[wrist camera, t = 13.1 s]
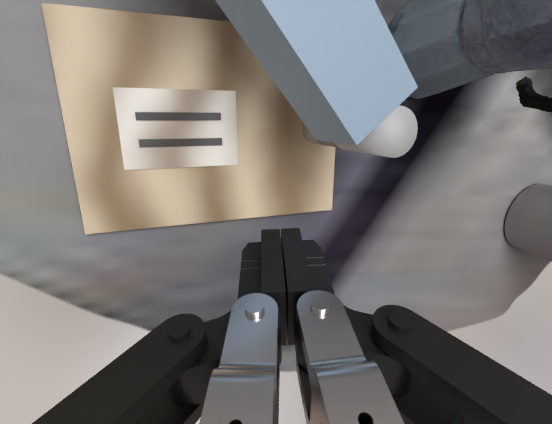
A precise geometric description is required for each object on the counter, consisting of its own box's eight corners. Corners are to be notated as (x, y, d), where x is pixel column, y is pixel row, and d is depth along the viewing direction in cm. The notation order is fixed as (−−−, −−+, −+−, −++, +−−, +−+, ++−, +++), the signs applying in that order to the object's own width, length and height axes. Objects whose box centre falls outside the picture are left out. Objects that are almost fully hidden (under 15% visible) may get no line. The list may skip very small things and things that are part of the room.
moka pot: (433, -58, 28) (935, -397, 10) (477, 96, 34) (832, 67, 16) (352, 0, 27) (735, -255, 9) (413, 146, 33) (710, 178, 15)
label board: (336, 34, 27) (378, 13, 22) (328, 207, 32) (361, 225, 26) (45, 6, 21) (0, -34, 15) (87, 231, 25) (64, 261, 20)
